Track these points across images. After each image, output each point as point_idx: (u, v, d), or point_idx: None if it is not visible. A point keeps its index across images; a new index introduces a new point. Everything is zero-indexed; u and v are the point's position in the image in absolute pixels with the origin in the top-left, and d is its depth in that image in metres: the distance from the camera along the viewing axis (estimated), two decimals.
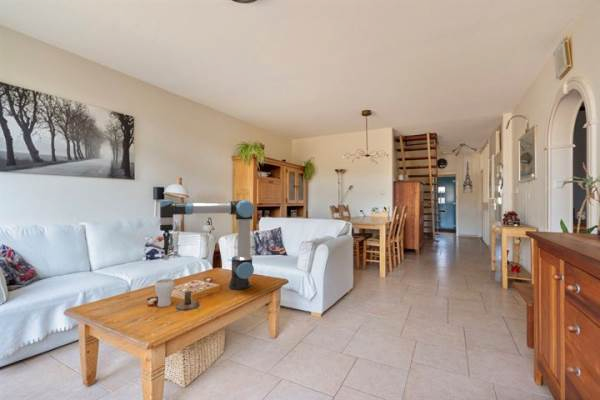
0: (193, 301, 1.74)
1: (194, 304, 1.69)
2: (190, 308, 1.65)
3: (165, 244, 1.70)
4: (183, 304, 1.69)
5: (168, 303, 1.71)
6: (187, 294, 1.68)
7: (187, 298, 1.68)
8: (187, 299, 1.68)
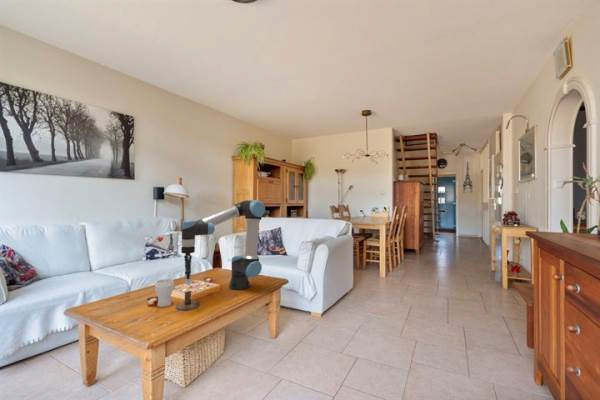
0: (193, 301, 1.74)
1: (194, 304, 1.69)
2: (190, 308, 1.65)
3: (187, 268, 1.61)
4: (183, 304, 1.69)
5: (168, 303, 1.71)
6: (187, 294, 1.68)
7: (187, 298, 1.68)
8: (187, 299, 1.68)
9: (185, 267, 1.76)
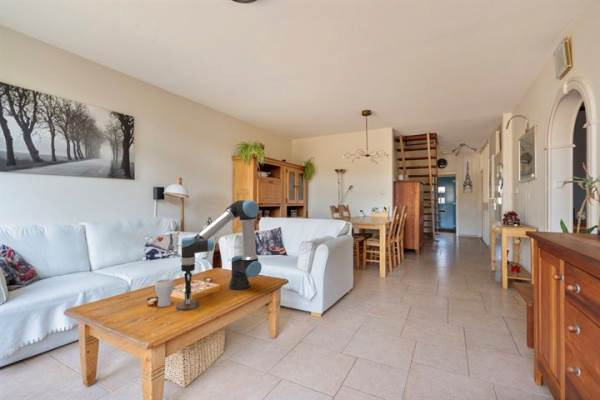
0: (193, 301, 1.74)
1: (194, 304, 1.69)
2: (190, 308, 1.65)
3: (187, 289, 1.65)
4: (183, 304, 1.69)
5: (168, 303, 1.71)
6: None
7: None
8: None
9: (186, 289, 1.72)
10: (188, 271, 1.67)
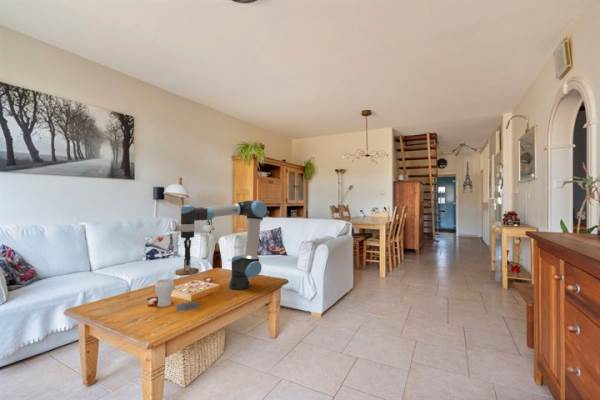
0: (192, 268, 1.74)
1: (193, 270, 1.69)
2: (189, 273, 1.65)
3: (187, 255, 1.65)
4: (182, 270, 1.69)
5: (168, 303, 1.71)
6: None
7: None
8: None
9: None
10: (188, 237, 1.67)
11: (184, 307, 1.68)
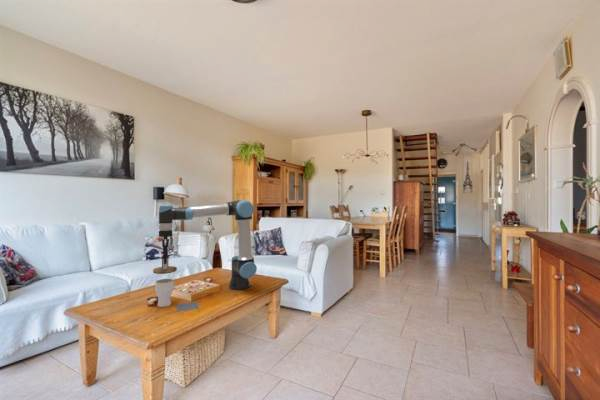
0: (171, 267, 1.77)
1: (171, 269, 1.72)
2: (167, 272, 1.67)
3: (164, 254, 1.68)
4: (160, 269, 1.72)
5: (168, 303, 1.71)
6: None
7: None
8: None
9: None
10: (165, 236, 1.69)
11: (184, 307, 1.68)
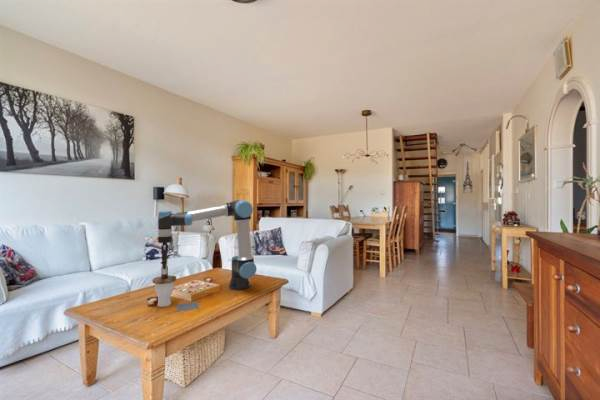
0: (170, 276, 1.77)
1: (170, 278, 1.72)
2: (166, 282, 1.68)
3: (163, 258, 1.65)
4: (160, 278, 1.72)
5: (168, 303, 1.71)
6: None
7: None
8: None
9: None
10: None
11: (184, 307, 1.68)
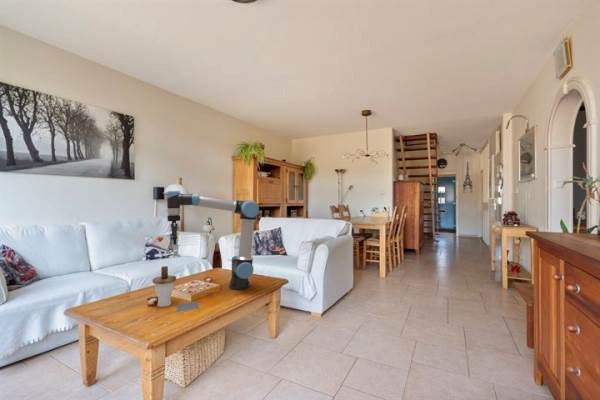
0: (170, 276, 1.77)
1: (170, 278, 1.72)
2: (166, 282, 1.68)
3: (174, 234, 1.72)
4: (160, 278, 1.72)
5: (168, 303, 1.71)
6: (163, 268, 1.71)
7: (163, 272, 1.71)
8: (163, 273, 1.71)
9: None
10: None
11: (184, 307, 1.68)
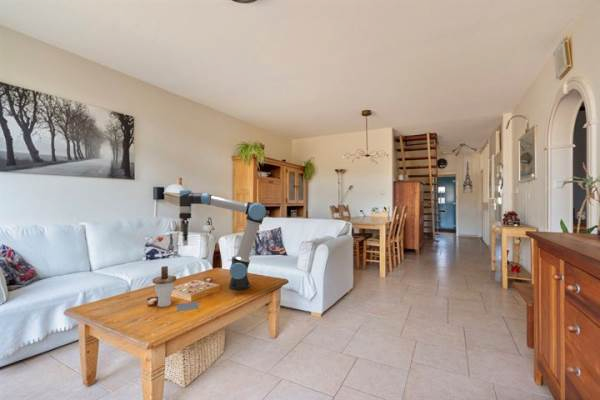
0: (170, 276, 1.77)
1: (170, 278, 1.72)
2: (166, 282, 1.68)
3: (185, 231, 1.83)
4: (160, 278, 1.72)
5: (168, 303, 1.71)
6: (164, 268, 1.71)
7: (164, 272, 1.71)
8: (164, 273, 1.71)
9: (183, 232, 1.98)
10: None
11: (184, 307, 1.68)
